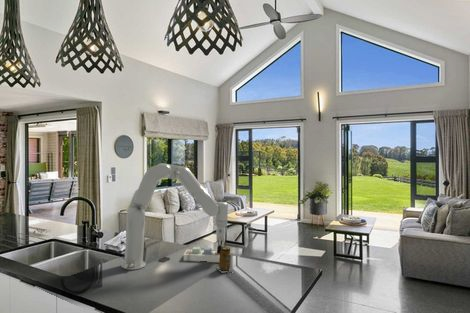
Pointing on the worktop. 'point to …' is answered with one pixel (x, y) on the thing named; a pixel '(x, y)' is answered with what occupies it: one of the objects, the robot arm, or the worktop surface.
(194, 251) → the key sage
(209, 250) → the key slate
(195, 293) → the worktop surface
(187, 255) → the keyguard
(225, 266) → the condiment
